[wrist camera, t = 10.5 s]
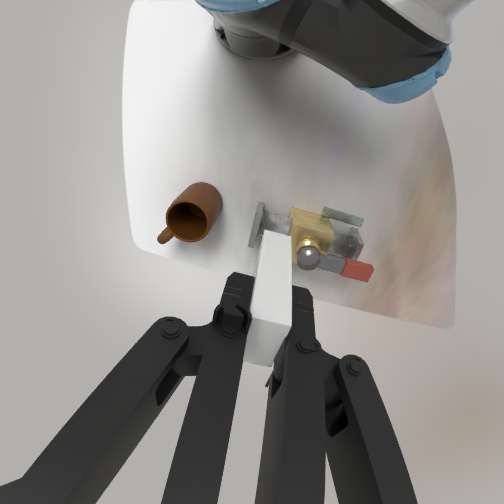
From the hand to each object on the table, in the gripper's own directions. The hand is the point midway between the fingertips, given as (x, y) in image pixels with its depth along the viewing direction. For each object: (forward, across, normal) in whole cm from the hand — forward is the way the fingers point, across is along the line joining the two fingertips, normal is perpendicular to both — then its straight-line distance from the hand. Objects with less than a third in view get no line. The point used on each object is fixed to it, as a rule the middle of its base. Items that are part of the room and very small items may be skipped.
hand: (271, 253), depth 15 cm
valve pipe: (+32, +8, -13) cm, 36 cm away
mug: (+33, -13, -14) cm, 38 cm away
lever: (+23, +13, -13) cm, 30 cm away
